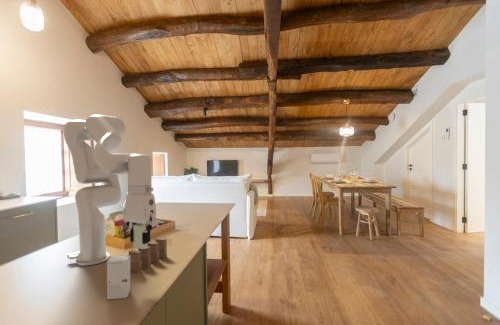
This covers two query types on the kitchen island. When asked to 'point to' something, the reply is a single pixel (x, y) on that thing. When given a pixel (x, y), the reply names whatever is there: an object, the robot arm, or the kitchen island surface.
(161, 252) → the tile
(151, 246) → the tile
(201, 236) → the kitchen island surface
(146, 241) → the robot arm
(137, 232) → the sage tile
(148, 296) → the kitchen island surface
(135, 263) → the tile
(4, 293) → the kitchen island surface
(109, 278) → the skincare box
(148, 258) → the tile
